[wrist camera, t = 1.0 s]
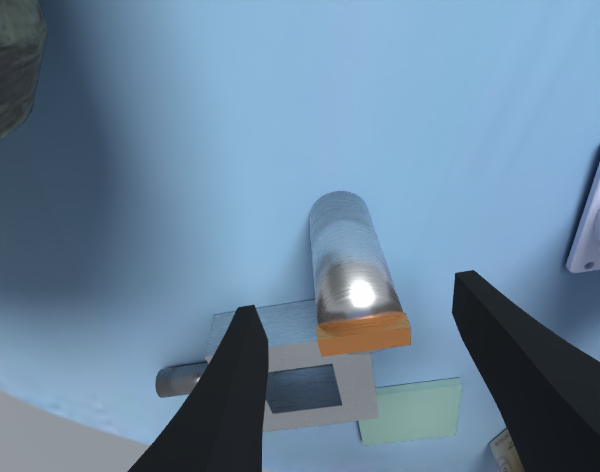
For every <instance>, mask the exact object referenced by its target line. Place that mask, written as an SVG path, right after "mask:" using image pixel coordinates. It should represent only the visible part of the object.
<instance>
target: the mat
mask: <svg viewBox="0 0 600 472" xmlns="http://www.w3.org/2000/svg"><path fill="white" fill-rule="evenodd" d="M375 391H376V399H377V407H378V414H379V418H378V419H369V420H360V421H358V422H359V427H360V432H361V437H362V442H363V446H366V445H376V444H385V443H394V442H403V441H412V440H421V439H430V438H439V437H448V436H455V435H456V428H457V420H458V413H459V406H460V398H461V391H462V383H461V381H460V378H452V379H444V380H436V381H428V382H421V383H413V384H405V385H397V386H389V387H381V388H375Z"/></svg>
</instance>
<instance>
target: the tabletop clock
mask: <svg viewBox="0 0 600 472" xmlns="http://www.w3.org/2000/svg"><path fill="white" fill-rule="evenodd" d="M47 32H48V26H47V24H46V21H45V18H44V15H43V12H42V10H41V7H40V4H39V1H38V0H0V140H1V139H2V138H4V137H5V136H7V135H8V134H9V133H11V132H12V131H13V130H15V129H16V128H17V127H18V126H20V125H21V124H22V123H24V121H25V120H26V118H27V117H28V115H29V114H30V112H31V110H32V106H33V101H34V96H35V91H36V86H37V82H38V77H39V72H40V67H41V62H42V57H43V52H44V47H45V42H46V37H47Z"/></svg>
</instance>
